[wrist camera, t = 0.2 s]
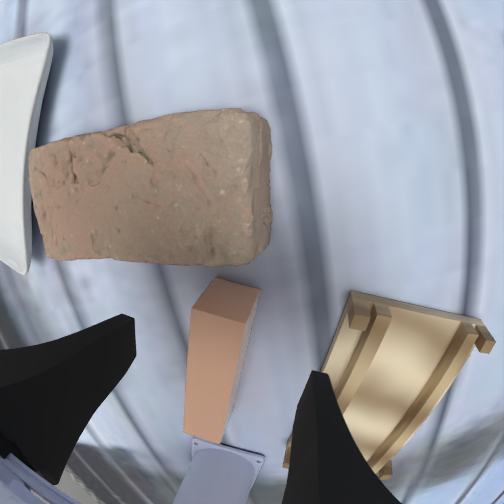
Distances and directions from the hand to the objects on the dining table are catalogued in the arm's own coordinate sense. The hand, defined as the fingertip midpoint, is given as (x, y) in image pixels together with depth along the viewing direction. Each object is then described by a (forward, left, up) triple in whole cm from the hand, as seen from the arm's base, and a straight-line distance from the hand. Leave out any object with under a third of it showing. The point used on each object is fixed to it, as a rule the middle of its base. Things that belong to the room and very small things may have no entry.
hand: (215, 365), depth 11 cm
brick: (+4, +9, -10) cm, 14 cm away
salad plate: (+6, +30, -10) cm, 32 cm away
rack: (-9, -11, -10) cm, 18 cm away
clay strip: (-8, +2, -10) cm, 13 cm away
